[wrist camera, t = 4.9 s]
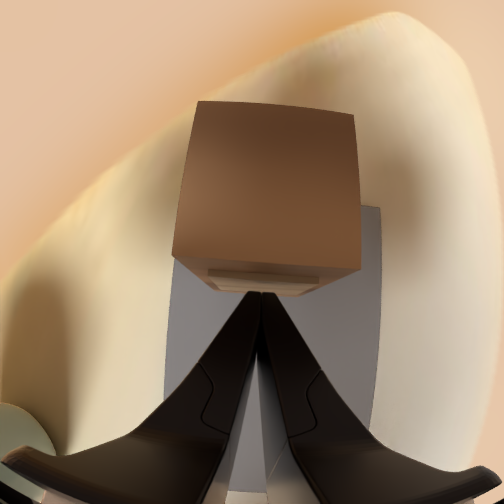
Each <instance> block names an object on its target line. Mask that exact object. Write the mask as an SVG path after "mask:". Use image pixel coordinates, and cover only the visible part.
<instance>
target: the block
mask: <svg viewBox="0 0 504 504" xmlns="http://www.w3.org/2000/svg"><path fill="white" fill-rule="evenodd" d="M172 256H173V257H174V258H175V259H177V260H178V261H179V262H180V263H181V264H183V265H184V266H185V267H186V268H187V269H189V270H190V271H191V272H192V273H193V274H195V275H196V276H197V277H198V278H199V279H201V280H202V281H203V282H204V283H206V284H207V285H208V286H209V287H210V288H212V289H213V290H214V291H217V292H229V293H242V294H246V292H247V291H260V292H261V293H262V292H274V293H275V294H276V295H277V296H284V297H299V296H302V295H304V294H307V293H309V292H311V291H314V290H316V289H318V288H321V287H323V286H325V285H327V284H330V283H332V282H334V281H337V280H339V279H341V278H343V277H346V276H348V275H350V274H352V273H354V272H357V271H359V270H361V205H360V184H359V168H358V155H357V144H356V133H355V124H354V115H352V114H346V113H340V112H333V111H327V110H319V109H312V108H304V107H295V106H285V105H275V104H262V103H246V102H223V101H198V103H197V108H196V112H195V117H194V122H193V127H192V132H191V137H190V142H189V147H188V152H187V157H186V163H185V169H184V174H183V180H182V186H181V192H180V198H179V205H178V211H177V218H176V225H175V232H174V240H173V247H172Z"/></svg>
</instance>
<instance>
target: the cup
mask: <svg viewBox="0 0 504 504" xmlns="http://www.w3.org/2000/svg"><path fill="white" fill-rule="evenodd" d="M22 445H27V446H30V447H33V448H35V449H37V450H39V451H42V452H44V453H46V454H49V455H54V456H57V455H56V452H55V449H54V446H53V444H52V442H51V440H50V438H49V436H48V435H47V433H46V432H45V430H44V429H43V427H42V426H41V425H40V423H39V422H38V421H37V420H36V419H35V418H34V417H33V416H32V415H31V414H29V413H28V412H27V411H26V410H24V409H22V408H20V407H18V406H16V405H13V404H9V403H4V402H0V481H2V482H4V483H5V484H7V485H9V486H10V487H12V488H14V489H15V490H17V491H19V492H21V493H22V494H24V495H26V496H28V497H30V498H32V499H33V500H35V501H37V502H39V503H40V502H41V500H42V496H43V493H44V489H42V488H40V487H38V486H36V485H35V484H33V483H31V482H30V481H28V480H26V479H25V478H23V477H21V476H20V475H18V474H17V473H15V472H13V471H12V470H10V469H9V468H7V467H6V466H5V465H3V464H2V463H1V459H2V458H3V457H4V456H5V455H6V454H7V453H8V452H10V451H11V450H13V449H15V448H17V447H19V446H22Z"/></svg>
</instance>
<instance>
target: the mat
mask: <svg viewBox="0 0 504 504" xmlns="http://www.w3.org/2000/svg"><path fill="white" fill-rule="evenodd" d="M381 284H382V251H381V219H380V208H378V207H370V206H362V205H361V270H359V271H357V272H354V273H352V274H350V275H348V276H346V277H343V278H341V279H339V280H337V281H334V282H332V283H330V284H327V285H325V286H323V287H321V288H318V289H316V290H314V291H311V292H309V293H307V294H304V295H302V296H299V297H284V296H277V297H278V298H279V300H280V301H281V303H282V305H283V306H284V308H285V309H286V311H287V313H288V314H289V316H290V318H291V319H292V321H293V322H294V324H295V326H296V327H297V329H298V330H299V332H300V334H301V335H302V337H303V339H304V340H305V342H306V343H307V345H308V347H309V348H310V350H311V351H312V353H313V355H314V356H315V358H316V359H317V361H318V363H319V364H320V366H321V368H322V370H323V371H324V372H325V374H326V375H327V377H328V379H329V380H330V382H331V383H332V385H333V386H334V388H335V389H336V391H337V392H338V394H339V395H340V396H341V397H342V399H343V400H344V401H345V403H346V404H347V405H348V406H349V408H350V409H351V410H352V411H353V412H354V414H355V415H356V416H357V417H358V418H359V420H360V421H361V422H362V423H363V424H364V426H365V427H366V428H367V429H368V430H369V424H370V418H371V411H372V404H373V397H374V389H375V380H376V371H377V360H378V348H379V334H380V316H381ZM244 295H245V294H242V293H229V292H217V291H214V290H213V289H212V288H210V287H209V286H208V285H207V284H206V283H204V282H203V281H202V280H201V279H199V278H198V277H197V276H196V275H195V274H193V273H192V272H191V271H190V270H189V269H187V268H186V267H185V266H184V265H183V264H181V263H180V262H179V261H178V260H177V259H174V268H173V277H172V287H171V297H170V307H169V319H168V331H167V345H166V360H165V379H164V400H165V399H166V398H167V397H168V396H169V395H170V394H171V393H172V392H173V391H174V390H175V389H176V388H177V386H178V385H179V384H180V383H181V382H182V381H183V379H184V378H185V377H186V376H187V374H188V373H189V372H190V370H191V369H192V368H193V366H194V365H195V364H196V363H197V362H198V360H199V358H200V357H201V355H202V354H203V353H204V351H205V350H206V349H207V347H208V346H209V344H210V343H211V342H212V340H213V339H214V337H215V336H216V335H217V333H218V332H219V330H220V329H221V328H222V326H223V325H224V323H225V322H226V321H227V319H228V318H229V316H230V315H231V314H232V312H233V311H234V309H235V308H236V307H237V305H238V304H239V302H240V301H241V299H242V298H243V297H244ZM228 490H229V491H242V492H263V493H267V489H266V476H265V463H264V451H263V438H262V426H261V413H260V400H259V387H258V374H257V355H256V362H255V368H254V373H253V378H252V383H251V387H250V392H249V397H248V402H247V407H246V411H245V416H244V421H243V425H242V430H241V434H240V439H239V444H238V448H237V453H236V457H235V461H234V466H233V470H232V475H231V479H230V483H229V488H228Z"/></svg>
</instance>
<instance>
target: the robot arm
mask: <svg viewBox="0 0 504 504" xmlns="http://www.w3.org/2000/svg"><path fill="white" fill-rule="evenodd" d="M256 355H257V374H258V387H259V400H260V413H261V426H262V438H263V451H264V463H265V476H266V489H267V501H268V504H474V500H473V499H474V498H476V497H478V496H480V495H482V494H484V493H486V492H488V491H489V490H491V489H493V488H495V487H497V486H498V485H500V484H501V483H502V481H501V479H500V478H499V476H498V475H497V474H496V473H494V472H493V471H491V470H490V469H488V468H486V467H484V466H476V467H473V468H470V469H467V470H465V471H461V472H447V471H442V470H439V469H436V468H433V467H431V466H428V465H426V464H423V463H421V462H418V461H416V460H414V459H411V458H409V457H406V456H404V455H402V454H400V453H397V452H395V451H393V450H391V449H389V448H387V447H385V446H384V445H383V444H381V443H380V442H379V441H378V440H377V439H376V438H375V437H374V436H373V435H372V434H371V433H370V432H369V430H368V429H367V428H366V427H365V426H364V424H363V423H362V422H361V421H360V420H359V418H358V417H357V416H356V415H355V414H354V412H353V411H352V410H351V409H350V408H349V406H348V405H347V404H346V403H345V401H344V400H343V399H342V397H341V396H340V395H339V394H338V392H337V391H336V389H335V388H334V386H333V385H332V383H331V382H330V380H329V379H328V377H327V375H326V374H325V372H324V371H323V370H322V368H321V366H320V364H319V363H318V361H317V359H316V358H315V356H314V355H313V353H312V351H311V350H310V348H309V347H308V345H307V343H306V342H305V340H304V339H303V337H302V335H301V334H300V332H299V330H298V329H297V327H296V326H295V324H294V322H293V321H292V319H291V318H290V316H289V314H288V313H287V311H286V309H285V308H284V306H283V305H282V303H281V301H280V300H279V298H278V297H277V295H276V294H275V293H274V292H262V293H261V292H260V291H247V292H246V294H245V295H244V297H243V298H242V299H241V301H240V302H239V304H238V305H237V307H236V308H235V309H234V311H233V312H232V314H231V315H230V316H229V318H228V319H227V321H226V322H225V323H224V325H223V326H222V328H221V329H220V330H219V332H218V333H217V335H216V336H215V337H214V339H213V340H212V342H211V343H210V344H209V346H208V347H207V349H206V350H205V351H204V353H203V354H202V355H201V357H200V358H199V360H198V362H197V363H196V364H195V365H194V366H193V368H192V369H191V370H190V372H189V373H188V374H187V376H186V377H185V378H184V379H183V381H182V382H181V383H180V384H179V385H178V386H177V388H176V389H175V390H174V391H173V392H172V393H171V394H170V395H169V396H168V397H167V398H166V399H165V400H164V401H163V402H162V403H161V404H160V405H159V406H158V407H157V408H156V409H155V410H154V411H153V412H152V413H151V414H150V415H149V416H148V417H147V418H146V419H145V420H144V421H143V422H142V423H141V424H140V425H139V426H138V427H137V428H135V429H134V430H133V431H131V432H130V433H128V434H126V435H124V436H122V437H120V438H117V439H115V440H112V441H109V442H107V443H104V444H101V445H98V446H96V447H93V448H90V449H87V450H84V451H81V452H78V453H75V454H71V455H67V456H54V455H49V454H46V453H44V452H42V451H39V450H37V449H35V448H33V447H30V446H27V445H22V446H19V447H17V448H15V449H13V450H11V451H10V452H8V453H7V454H6V455H5V456H4V457H3V458H2V459H1V463H2V464H3V465H5V466H6V467H7V468H9V469H10V470H12V471H13V472H15V473H17V474H18V475H20V476H21V477H23V478H25V479H26V480H28V481H30V482H31V483H33V484H35V485H36V486H38V487H40V488H42V489H44V493H43V496H42V500H41V504H225V501H226V496H227V492H228V488H229V483H230V479H231V475H232V470H233V466H234V461H235V457H236V453H237V448H238V444H239V439H240V434H241V430H242V425H243V421H244V416H245V411H246V407H247V402H248V397H249V392H250V387H251V383H252V378H253V373H254V368H255V362H256ZM0 504H40V503H39V502H37V501H35V500H33V499H32V498H30V497H28V496H26V495H24V494H22V493H21V492H19V491H17V490H15V489H14V488H12V487H10V486H9V485H7V484H5V483H4V482H2V481H0ZM494 504H504V499H502V500H500V501H498V502H496V503H494Z"/></svg>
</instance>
